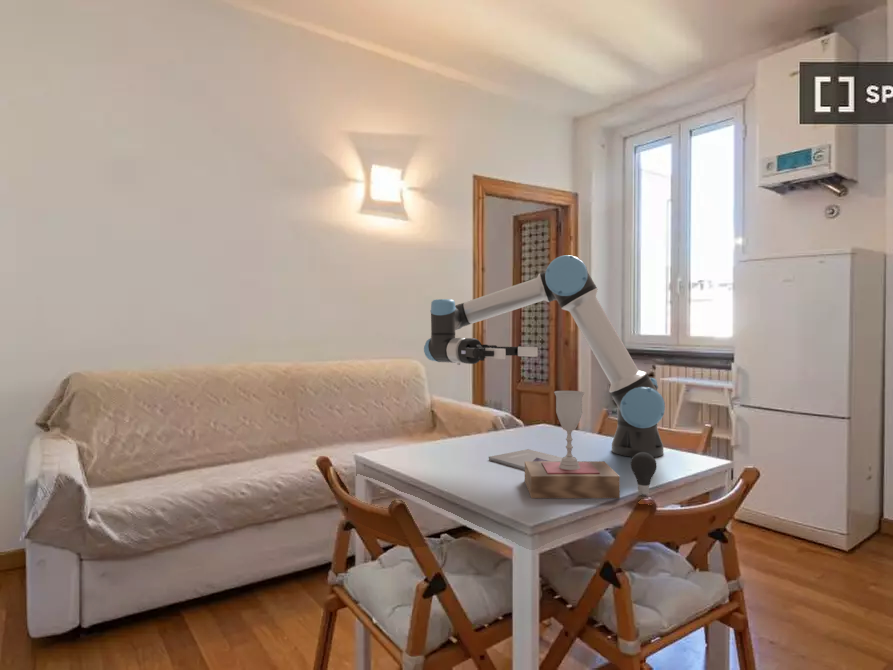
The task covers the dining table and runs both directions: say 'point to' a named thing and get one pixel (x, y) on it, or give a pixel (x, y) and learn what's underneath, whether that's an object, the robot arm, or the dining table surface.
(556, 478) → the display stand
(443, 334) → the robot arm
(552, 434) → the dining table surface
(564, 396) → the chalice
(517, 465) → the play button award
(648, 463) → the light bulb
